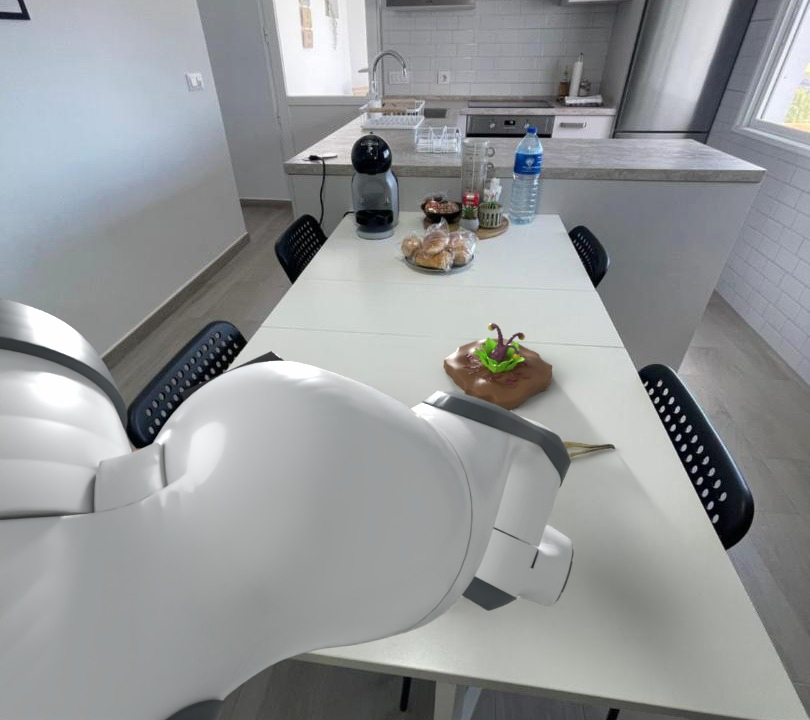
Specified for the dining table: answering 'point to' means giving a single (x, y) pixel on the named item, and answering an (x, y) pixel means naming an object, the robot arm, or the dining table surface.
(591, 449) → the tongs
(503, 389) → the plant
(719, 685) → the dining table surface
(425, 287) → the dining table surface
